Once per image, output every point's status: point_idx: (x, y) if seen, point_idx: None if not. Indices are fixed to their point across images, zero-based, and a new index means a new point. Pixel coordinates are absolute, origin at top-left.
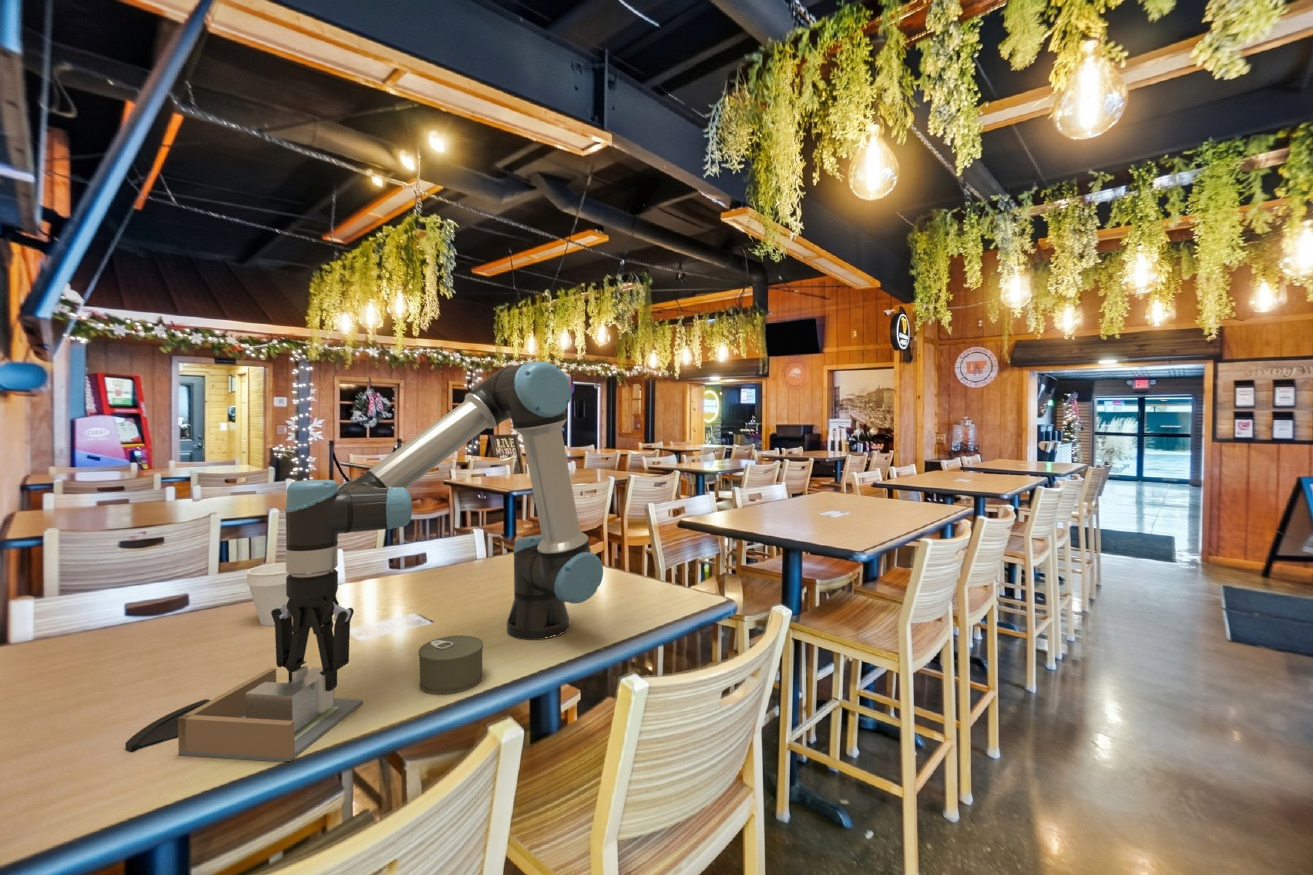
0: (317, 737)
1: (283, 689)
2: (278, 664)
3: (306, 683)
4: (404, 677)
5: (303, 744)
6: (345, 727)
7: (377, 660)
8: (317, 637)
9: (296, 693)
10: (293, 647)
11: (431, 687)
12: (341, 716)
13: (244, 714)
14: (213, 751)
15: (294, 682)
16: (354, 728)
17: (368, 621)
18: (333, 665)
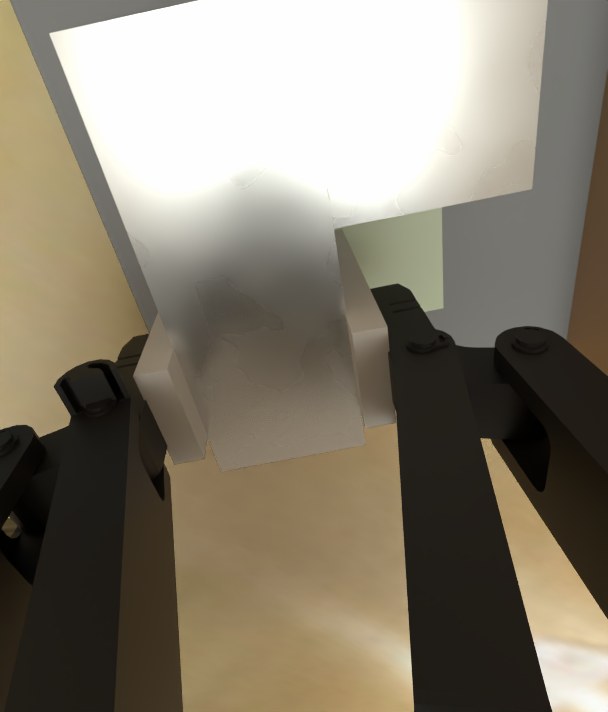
0: (64, 122)
1: (261, 124)
2: (534, 333)
3: (182, 270)
4: (216, 557)
5: (33, 18)
6: (63, 253)
7: (397, 593)
8: (93, 710)
9: (77, 100)
10: (449, 491)
11: None
12: (137, 300)
13: (593, 172)
14: None
15: (291, 255)
16: (16, 259)
17: (592, 696)
18: (25, 448)
